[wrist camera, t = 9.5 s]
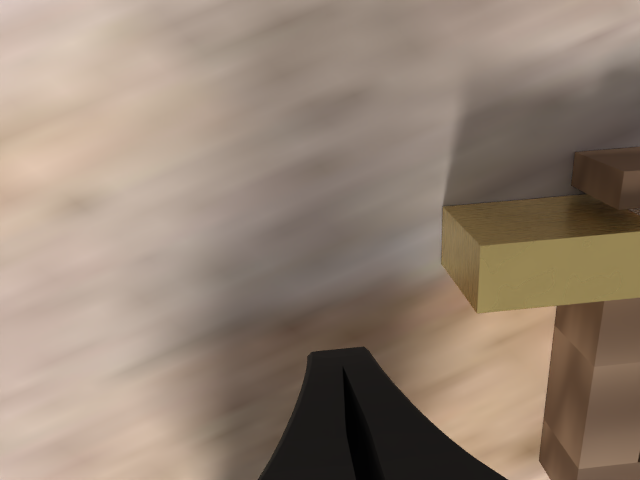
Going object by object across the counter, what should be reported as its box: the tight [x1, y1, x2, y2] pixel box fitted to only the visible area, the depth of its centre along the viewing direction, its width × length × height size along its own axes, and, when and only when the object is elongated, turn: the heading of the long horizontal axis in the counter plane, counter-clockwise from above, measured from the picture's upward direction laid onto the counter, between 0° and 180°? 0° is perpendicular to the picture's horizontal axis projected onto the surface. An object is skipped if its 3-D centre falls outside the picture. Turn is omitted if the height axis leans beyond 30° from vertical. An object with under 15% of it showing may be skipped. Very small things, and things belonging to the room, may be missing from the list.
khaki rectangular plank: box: [441, 194, 640, 313], centre depth 19 cm, size 2×6×4 cm, turn 94°
